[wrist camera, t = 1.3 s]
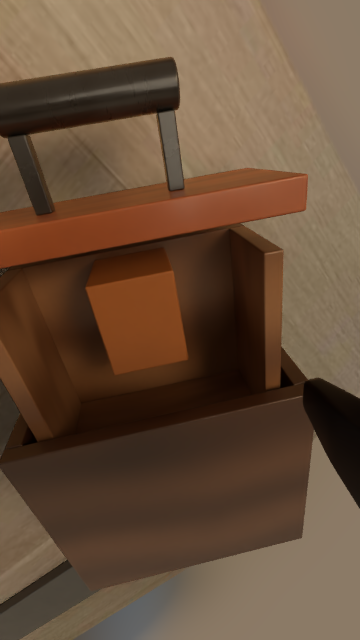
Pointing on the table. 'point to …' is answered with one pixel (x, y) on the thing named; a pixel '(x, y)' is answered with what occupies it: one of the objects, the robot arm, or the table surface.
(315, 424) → the robot arm
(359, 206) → the table surface
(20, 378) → the drawer
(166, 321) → the orange cube block
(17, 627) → the board
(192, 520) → the cabinet
